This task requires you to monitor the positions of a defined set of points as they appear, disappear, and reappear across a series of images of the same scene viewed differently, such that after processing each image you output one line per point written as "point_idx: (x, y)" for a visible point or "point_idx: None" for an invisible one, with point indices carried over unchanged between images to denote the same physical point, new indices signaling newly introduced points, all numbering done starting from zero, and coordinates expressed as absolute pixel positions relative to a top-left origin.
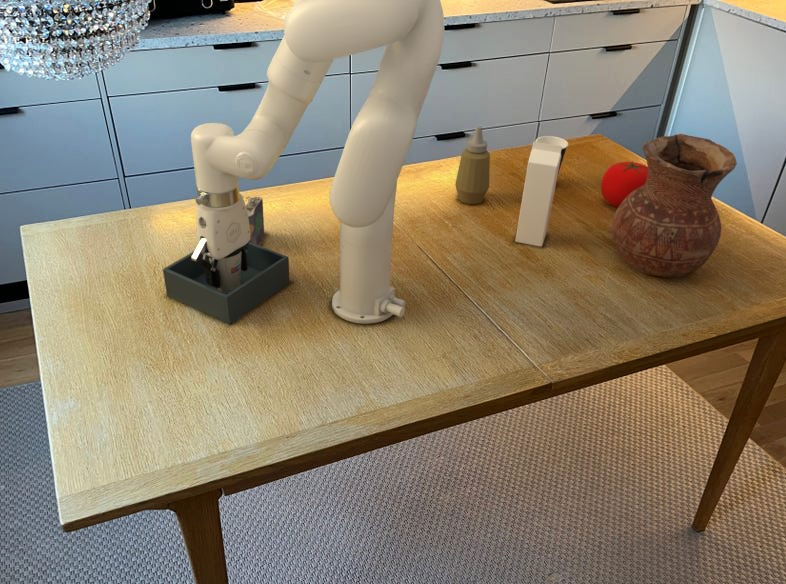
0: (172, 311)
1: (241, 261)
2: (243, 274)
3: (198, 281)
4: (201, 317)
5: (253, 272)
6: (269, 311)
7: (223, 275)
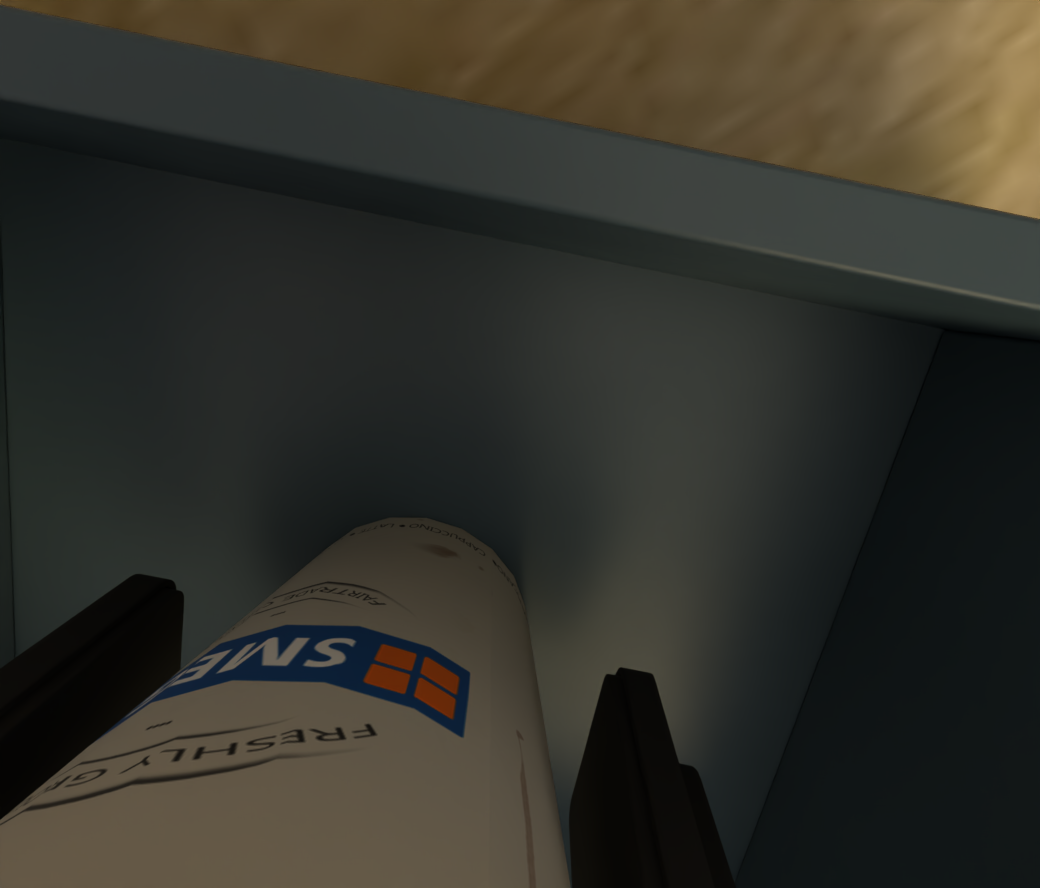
0: None
1: (89, 704)
2: None
3: None
4: None
5: (77, 535)
6: (592, 11)
7: (539, 745)
